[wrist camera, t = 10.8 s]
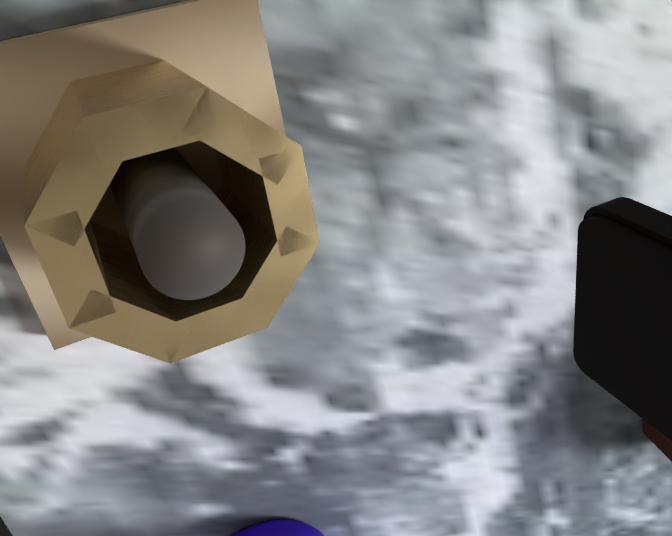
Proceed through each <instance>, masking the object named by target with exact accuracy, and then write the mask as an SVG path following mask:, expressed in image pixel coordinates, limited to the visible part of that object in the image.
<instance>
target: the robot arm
mask: <svg viewBox="0 0 672 536" xmlns="http://www.w3.org/2000/svg"><path fill="white" fill-rule="evenodd" d="M573 352H574V358H575V361H576V363H577V365H578V366H579V368H580V369H581V370H582V371H583V372H584V373H585V374H586V375H587V376H589V377H590V378H591V379H592V380H594V381H595V382H596V383H598V384H599V385H600V386H601V387H603V388H604V389H605V390H607V391H608V392H609V393H611V394H612V395H613V396H614V397H616V398H617V399H618V400H620V401H621V402H622V403H623V404H625V405H626V406H627V407H629V408H630V409H631V410H632V411H634V412H635V413H636V414H638V415H639V416H640V417H641V418H643V419H644V420H645V421H647V422H648V423H649V424H650V425H652V426H653V427H654V428H656V429H657V430H658V431H660V432H661V433H662V434H663V435H665V436H666V437H667V438H669V439H670V440H671V441H672V216H670V215H668V214H666V213H663V212H661V211H658V210H656V209H654V208H651V207H649V206H646V205H644V204H642V203H639V202H637V201H634V200H632V199H630V198H625V197H620V198H616V199H613V200H611V201H608V202H605V203H603V204H600V205H597V206H594V207H592V208H590V209H589V210H587V212H586V213H585V215H584V219H583V221H582V222H581V223H580V225H579V228H578V245H577V271H576V296H575V322H574V348H573ZM0 536H12V534H11V533H10V531H9V529H8V528H7V526H6V525H5V523H4V522H3V520H2V518H1V517H0Z"/></svg>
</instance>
